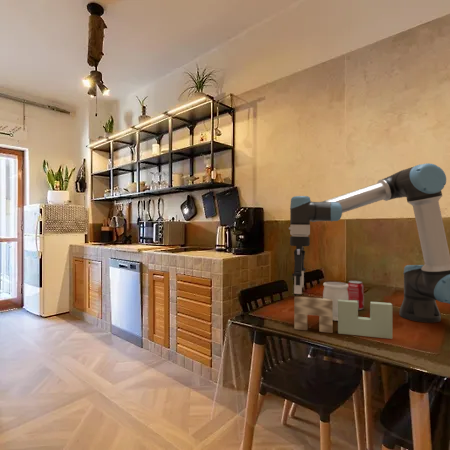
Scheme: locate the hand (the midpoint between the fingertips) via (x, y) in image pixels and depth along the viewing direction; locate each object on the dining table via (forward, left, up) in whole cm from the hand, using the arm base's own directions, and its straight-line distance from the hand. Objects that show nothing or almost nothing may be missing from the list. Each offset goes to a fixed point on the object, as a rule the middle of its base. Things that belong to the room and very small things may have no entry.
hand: (299, 290), depth 118 cm
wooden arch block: (-5, 0, -15) cm, 16 cm away
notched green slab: (-23, 0, -15) cm, 28 cm away
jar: (-14, -18, -15) cm, 28 cm away
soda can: (-24, -37, -15) cm, 47 cm away
